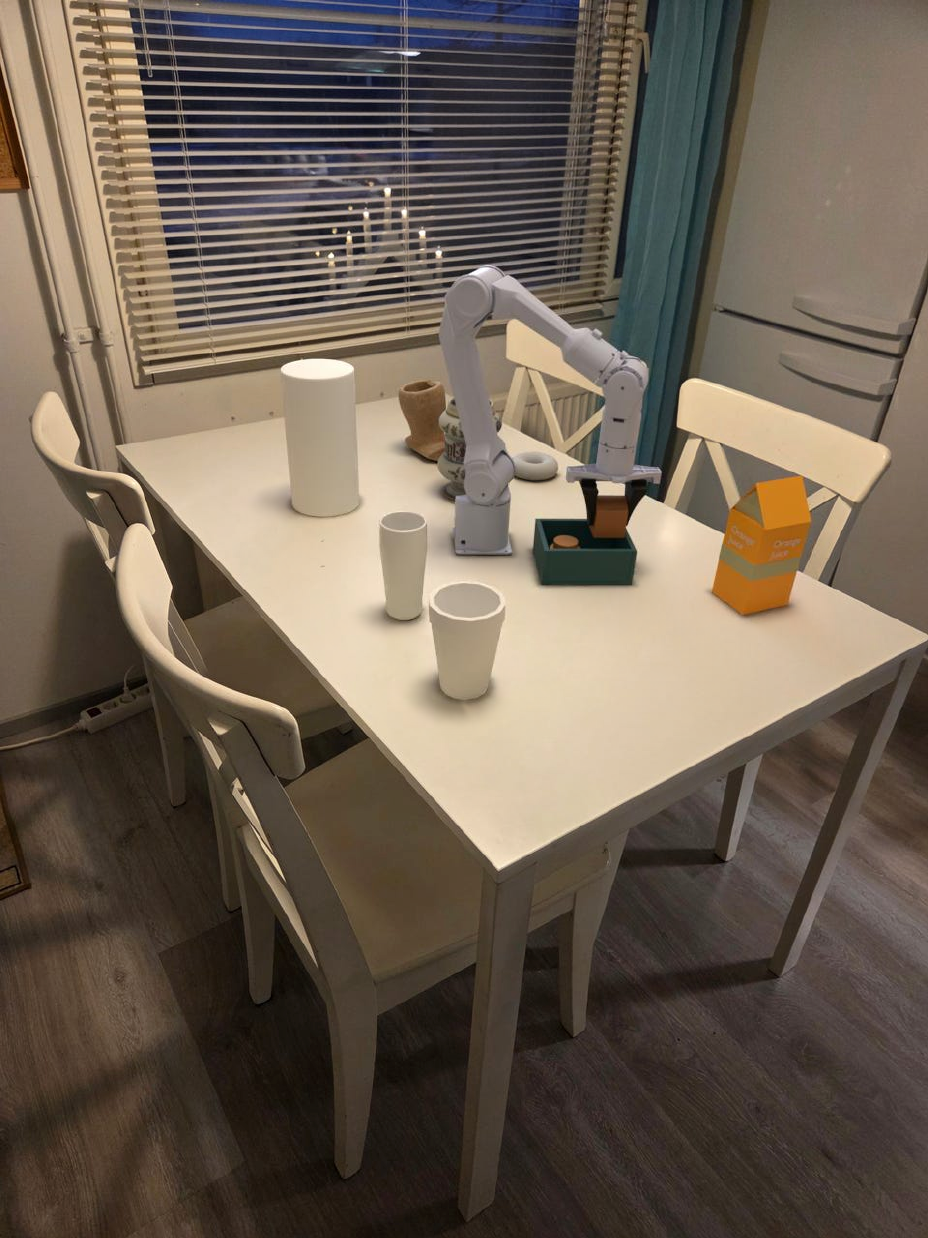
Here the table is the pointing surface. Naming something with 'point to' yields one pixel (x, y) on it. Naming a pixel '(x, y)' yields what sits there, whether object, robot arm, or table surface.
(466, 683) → the foam cup
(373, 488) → the table surface
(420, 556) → the drinking glass
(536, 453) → the donut
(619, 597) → the table surface
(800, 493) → the orange juice
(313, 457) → the cylinder
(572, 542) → the round bread
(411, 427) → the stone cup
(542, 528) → the dark green open box
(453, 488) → the apothecary jar
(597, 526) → the square bread
